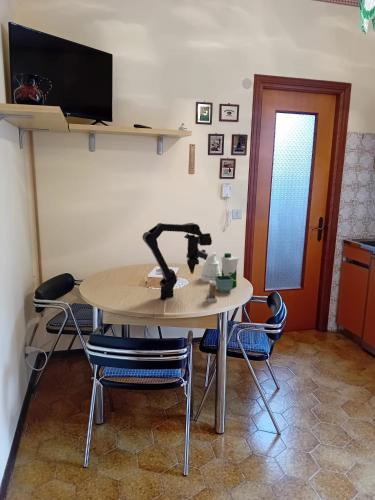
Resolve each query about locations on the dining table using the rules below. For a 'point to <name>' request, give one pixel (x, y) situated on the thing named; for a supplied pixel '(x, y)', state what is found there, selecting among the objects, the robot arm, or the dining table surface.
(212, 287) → the block
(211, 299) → the slate board
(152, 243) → the robot arm
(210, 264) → the white rounded cone
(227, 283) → the flower pot
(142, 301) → the dining table surface
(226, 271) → the milk carton
